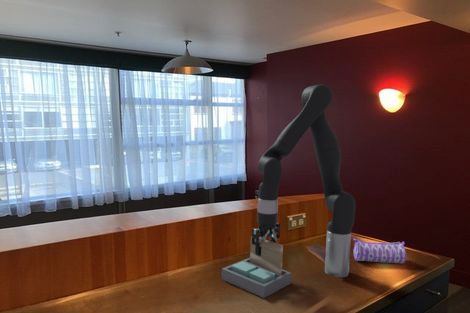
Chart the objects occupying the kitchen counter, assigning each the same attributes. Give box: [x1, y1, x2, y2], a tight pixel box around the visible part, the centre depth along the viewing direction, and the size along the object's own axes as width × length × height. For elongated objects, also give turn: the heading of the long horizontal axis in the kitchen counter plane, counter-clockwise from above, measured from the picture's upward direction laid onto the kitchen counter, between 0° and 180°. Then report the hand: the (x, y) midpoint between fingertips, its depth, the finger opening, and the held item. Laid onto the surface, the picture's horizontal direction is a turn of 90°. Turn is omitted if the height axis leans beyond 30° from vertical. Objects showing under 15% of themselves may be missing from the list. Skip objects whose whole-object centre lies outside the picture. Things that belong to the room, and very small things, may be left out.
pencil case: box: [352, 238, 407, 264], centre depth 163 cm, size 22×9×10 cm, turn 89°
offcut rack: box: [221, 257, 293, 299], centre depth 138 cm, size 16×20×5 cm
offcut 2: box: [249, 268, 275, 284], centre depth 133 cm, size 6×7×5 cm
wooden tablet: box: [306, 244, 351, 267], centre depth 169 cm, size 26×2×10 cm
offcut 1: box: [231, 260, 256, 278], centre depth 139 cm, size 6×7×5 cm
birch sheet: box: [249, 236, 284, 275], centre depth 141 cm, size 2×14×14 cm, turn 47°
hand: (265, 252), depth 141 cm, fingers open, 8 cm apart
